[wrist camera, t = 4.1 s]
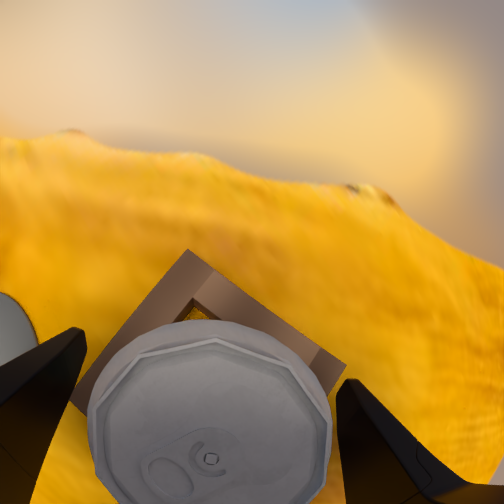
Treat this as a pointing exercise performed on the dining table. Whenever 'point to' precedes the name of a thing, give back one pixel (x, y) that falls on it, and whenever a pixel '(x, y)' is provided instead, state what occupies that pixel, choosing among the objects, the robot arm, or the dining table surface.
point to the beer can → (209, 419)
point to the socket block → (216, 308)
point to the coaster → (14, 330)
